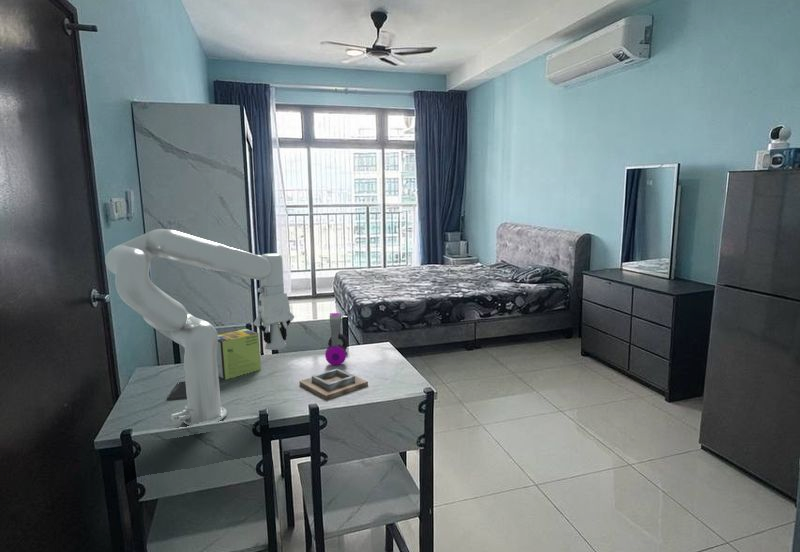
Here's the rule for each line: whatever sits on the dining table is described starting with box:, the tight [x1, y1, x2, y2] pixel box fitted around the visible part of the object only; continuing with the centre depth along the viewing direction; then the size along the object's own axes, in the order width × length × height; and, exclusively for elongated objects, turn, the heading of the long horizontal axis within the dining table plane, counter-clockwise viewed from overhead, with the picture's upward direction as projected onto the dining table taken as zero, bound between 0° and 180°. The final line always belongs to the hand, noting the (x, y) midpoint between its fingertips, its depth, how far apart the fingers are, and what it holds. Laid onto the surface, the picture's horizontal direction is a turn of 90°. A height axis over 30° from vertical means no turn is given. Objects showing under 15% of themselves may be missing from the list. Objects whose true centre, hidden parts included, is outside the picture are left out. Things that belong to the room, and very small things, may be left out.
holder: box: [298, 368, 369, 401], centre depth 169 cm, size 18×18×4 cm
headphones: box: [324, 312, 349, 366], centre depth 197 cm, size 21×9×20 cm, turn 4°
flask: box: [264, 323, 287, 351], centre depth 160 cm, size 7×7×10 cm
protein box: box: [217, 328, 262, 381], centre depth 183 cm, size 10×15×16 cm
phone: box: [166, 381, 187, 400], centre depth 166 cm, size 8×1×15 cm
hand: (275, 340), depth 160 cm, fingers closed on flask, 5 cm apart
